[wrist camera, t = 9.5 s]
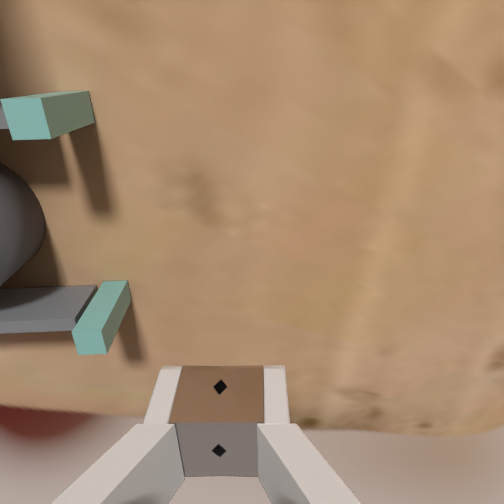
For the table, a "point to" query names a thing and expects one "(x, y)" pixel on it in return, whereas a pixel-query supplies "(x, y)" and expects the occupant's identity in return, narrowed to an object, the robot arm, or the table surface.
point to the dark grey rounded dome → (18, 223)
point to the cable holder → (67, 297)
